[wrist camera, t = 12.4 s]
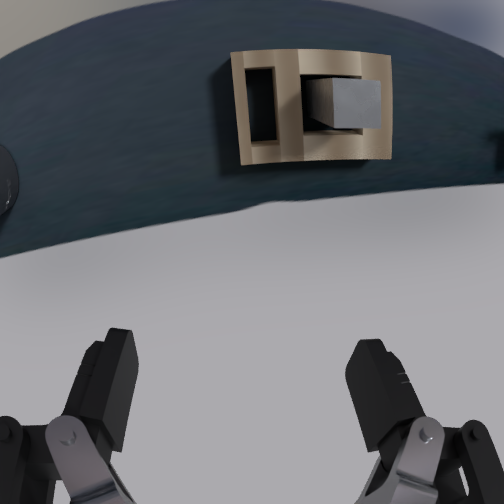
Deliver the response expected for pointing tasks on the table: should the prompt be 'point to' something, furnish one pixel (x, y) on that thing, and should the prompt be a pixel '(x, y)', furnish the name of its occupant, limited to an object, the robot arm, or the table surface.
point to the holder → (290, 106)
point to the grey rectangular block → (345, 102)
